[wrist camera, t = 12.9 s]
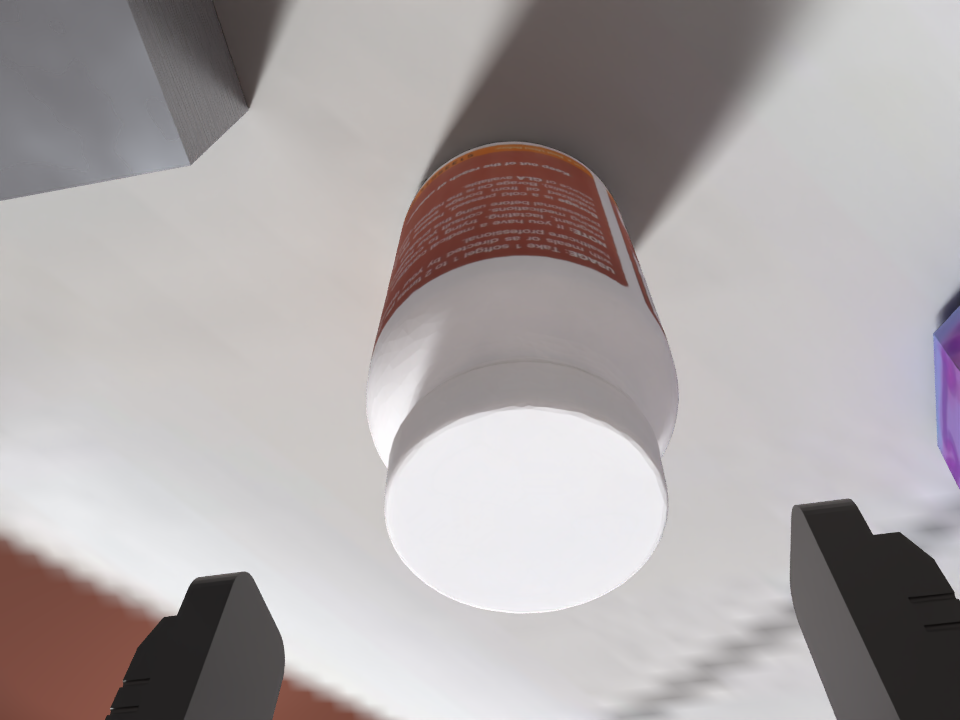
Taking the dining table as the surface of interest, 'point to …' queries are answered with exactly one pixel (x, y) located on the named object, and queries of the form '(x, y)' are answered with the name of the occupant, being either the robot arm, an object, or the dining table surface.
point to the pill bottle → (520, 386)
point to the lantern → (948, 391)
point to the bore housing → (109, 90)
